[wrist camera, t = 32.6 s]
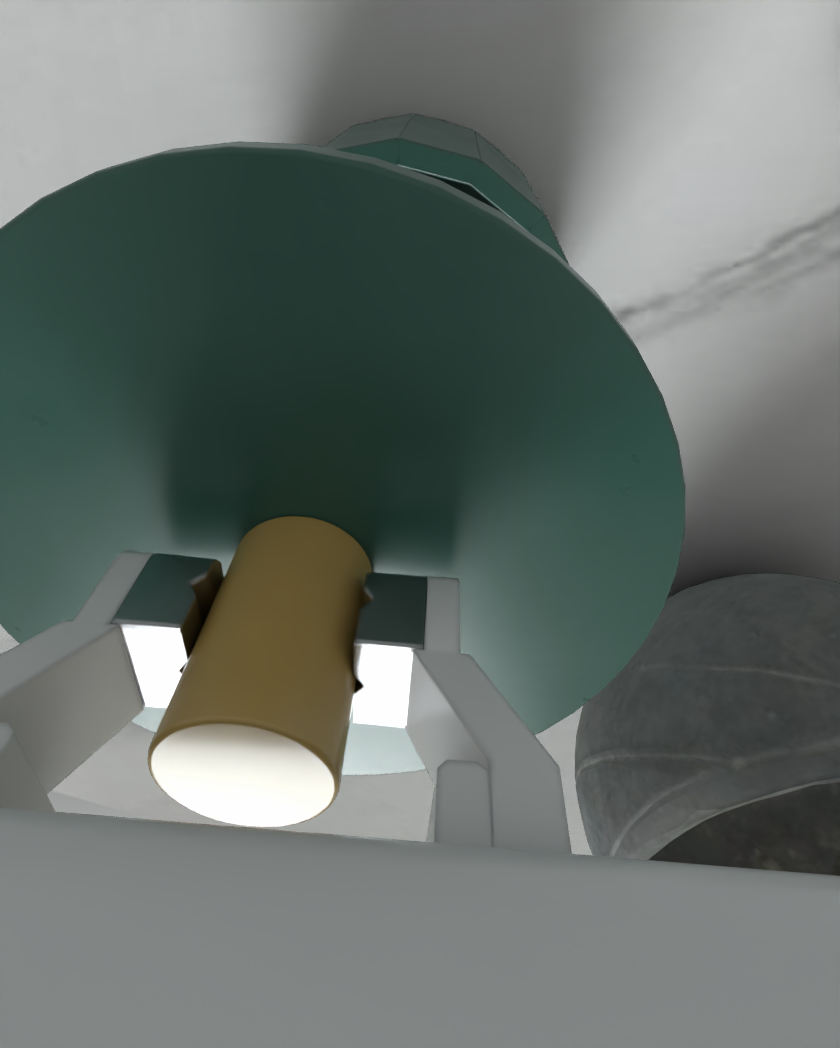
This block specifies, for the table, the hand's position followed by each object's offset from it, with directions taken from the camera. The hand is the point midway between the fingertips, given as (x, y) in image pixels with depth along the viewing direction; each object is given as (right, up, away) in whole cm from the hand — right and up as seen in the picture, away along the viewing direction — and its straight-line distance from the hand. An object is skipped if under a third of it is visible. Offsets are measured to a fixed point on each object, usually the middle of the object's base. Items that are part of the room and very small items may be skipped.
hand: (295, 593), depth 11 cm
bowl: (+21, -6, +30) cm, 37 cm away
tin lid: (0, +1, +1) cm, 1 cm away
